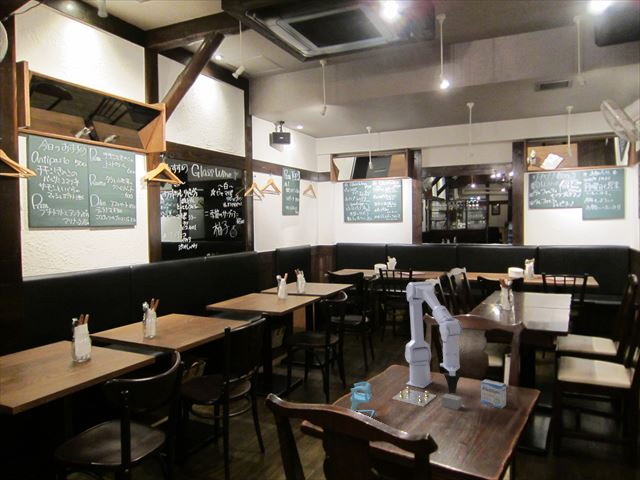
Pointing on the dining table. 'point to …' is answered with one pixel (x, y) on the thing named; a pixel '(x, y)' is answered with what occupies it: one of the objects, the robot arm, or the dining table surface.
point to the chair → (361, 396)
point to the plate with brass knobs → (414, 397)
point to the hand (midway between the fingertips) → (451, 389)
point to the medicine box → (493, 393)
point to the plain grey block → (451, 401)
